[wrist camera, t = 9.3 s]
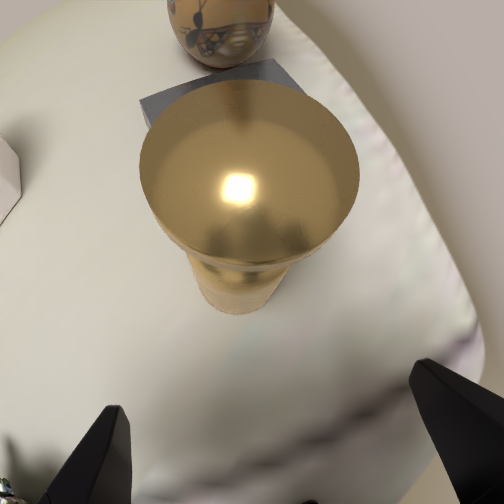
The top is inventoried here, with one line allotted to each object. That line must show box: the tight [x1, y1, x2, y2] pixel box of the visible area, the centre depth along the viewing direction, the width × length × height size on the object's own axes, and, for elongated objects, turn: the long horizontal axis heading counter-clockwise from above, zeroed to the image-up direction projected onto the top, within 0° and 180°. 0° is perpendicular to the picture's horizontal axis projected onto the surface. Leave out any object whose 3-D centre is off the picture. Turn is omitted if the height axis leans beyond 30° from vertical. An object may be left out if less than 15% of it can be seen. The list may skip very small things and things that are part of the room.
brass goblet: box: [139, 79, 360, 315], centre depth 14 cm, size 6×6×13 cm
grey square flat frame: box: [139, 59, 307, 129], centre depth 23 cm, size 12×12×2 cm
